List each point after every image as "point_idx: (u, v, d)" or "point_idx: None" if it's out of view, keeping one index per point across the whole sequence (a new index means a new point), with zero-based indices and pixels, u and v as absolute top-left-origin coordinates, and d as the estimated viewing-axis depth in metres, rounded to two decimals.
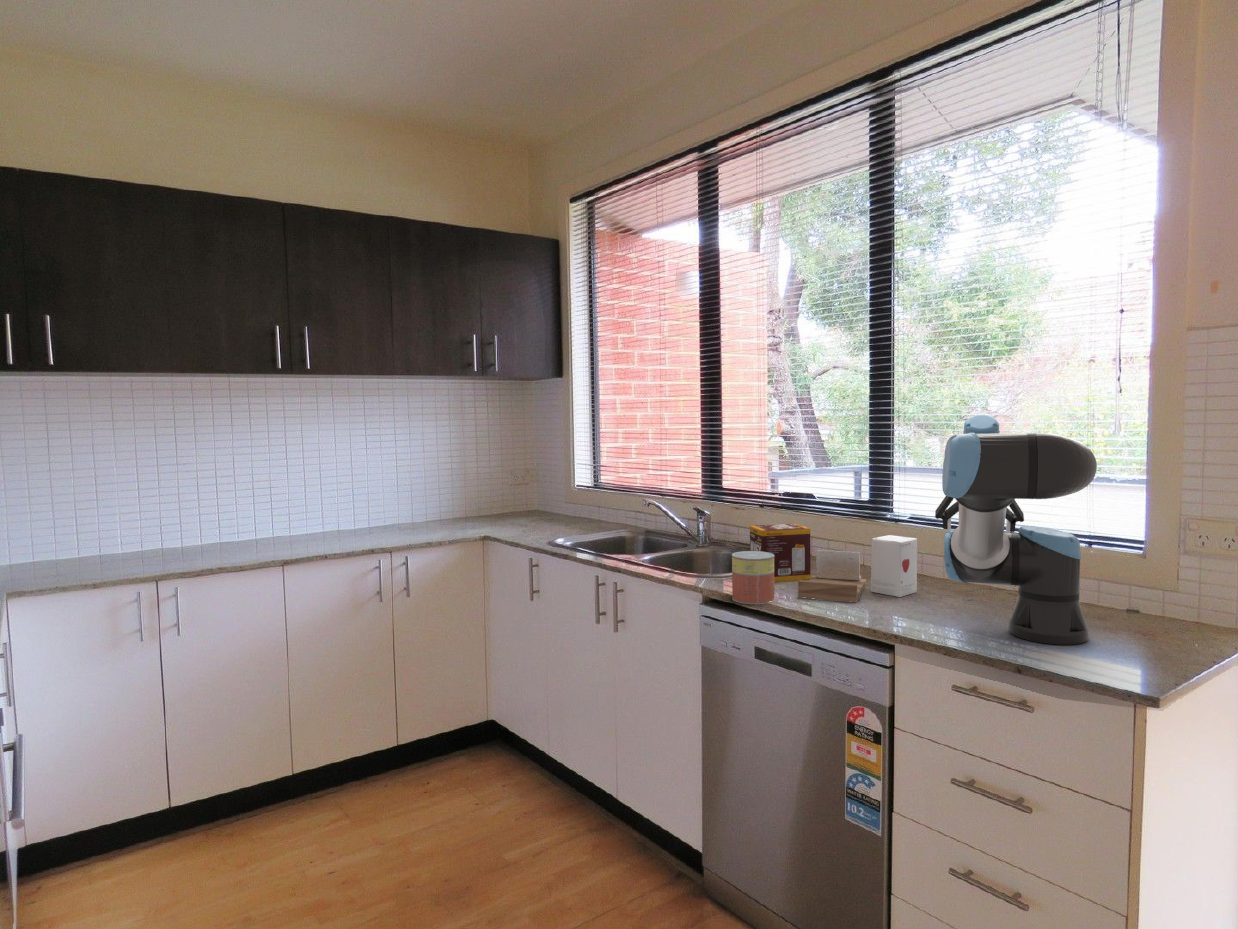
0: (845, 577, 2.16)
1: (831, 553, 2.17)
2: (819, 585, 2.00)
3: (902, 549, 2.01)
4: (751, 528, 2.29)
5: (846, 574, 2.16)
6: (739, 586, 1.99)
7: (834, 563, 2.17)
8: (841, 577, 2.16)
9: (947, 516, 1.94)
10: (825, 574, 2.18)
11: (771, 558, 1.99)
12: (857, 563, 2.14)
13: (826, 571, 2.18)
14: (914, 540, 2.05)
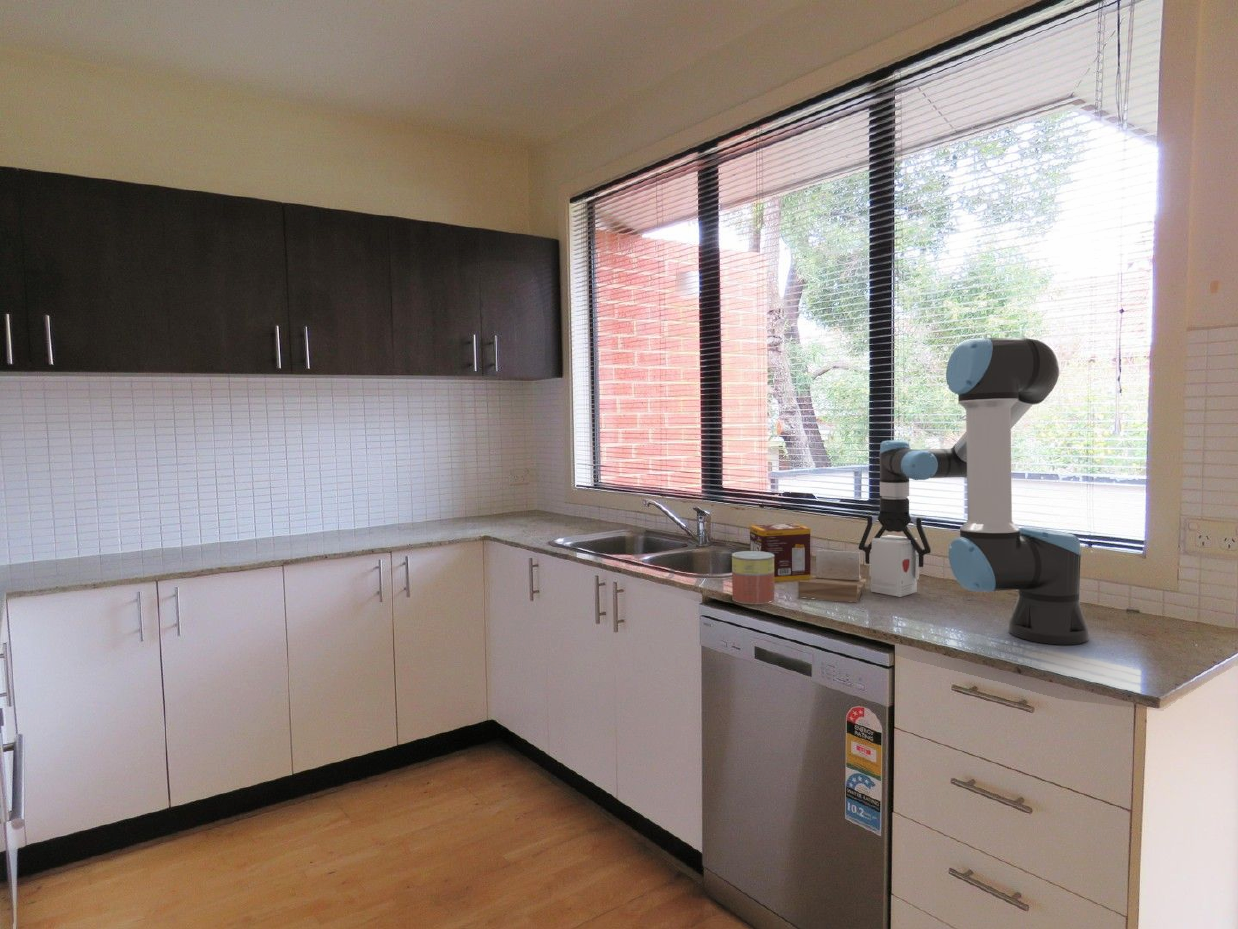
0: (845, 577, 2.16)
1: (831, 553, 2.17)
2: (819, 585, 2.00)
3: (902, 549, 2.01)
4: (751, 528, 2.29)
5: (846, 574, 2.16)
6: (739, 586, 1.99)
7: (834, 563, 2.17)
8: (841, 577, 2.16)
9: (869, 546, 2.08)
10: (825, 574, 2.18)
11: (771, 558, 1.99)
12: (857, 563, 2.14)
13: (826, 571, 2.18)
14: None
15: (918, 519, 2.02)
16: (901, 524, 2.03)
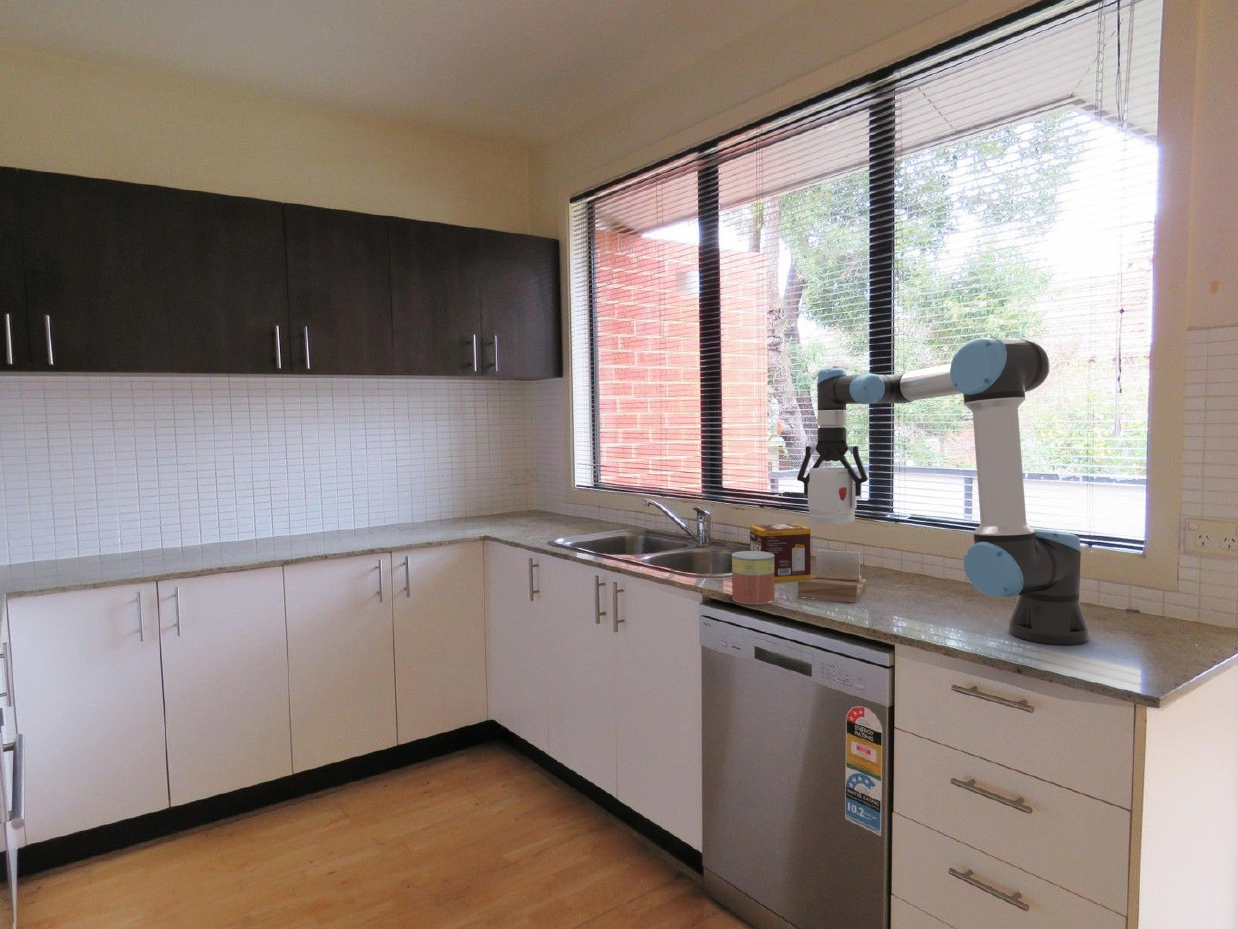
0: (845, 577, 2.16)
1: (831, 553, 2.17)
2: (819, 585, 2.00)
3: (839, 477, 2.00)
4: (751, 528, 2.29)
5: (846, 574, 2.16)
6: (739, 586, 1.99)
7: (834, 563, 2.17)
8: (841, 577, 2.16)
9: (807, 477, 2.07)
10: (825, 574, 2.18)
11: (771, 558, 1.99)
12: (857, 563, 2.14)
13: (826, 571, 2.18)
14: None
15: (855, 447, 2.01)
16: (838, 453, 2.03)
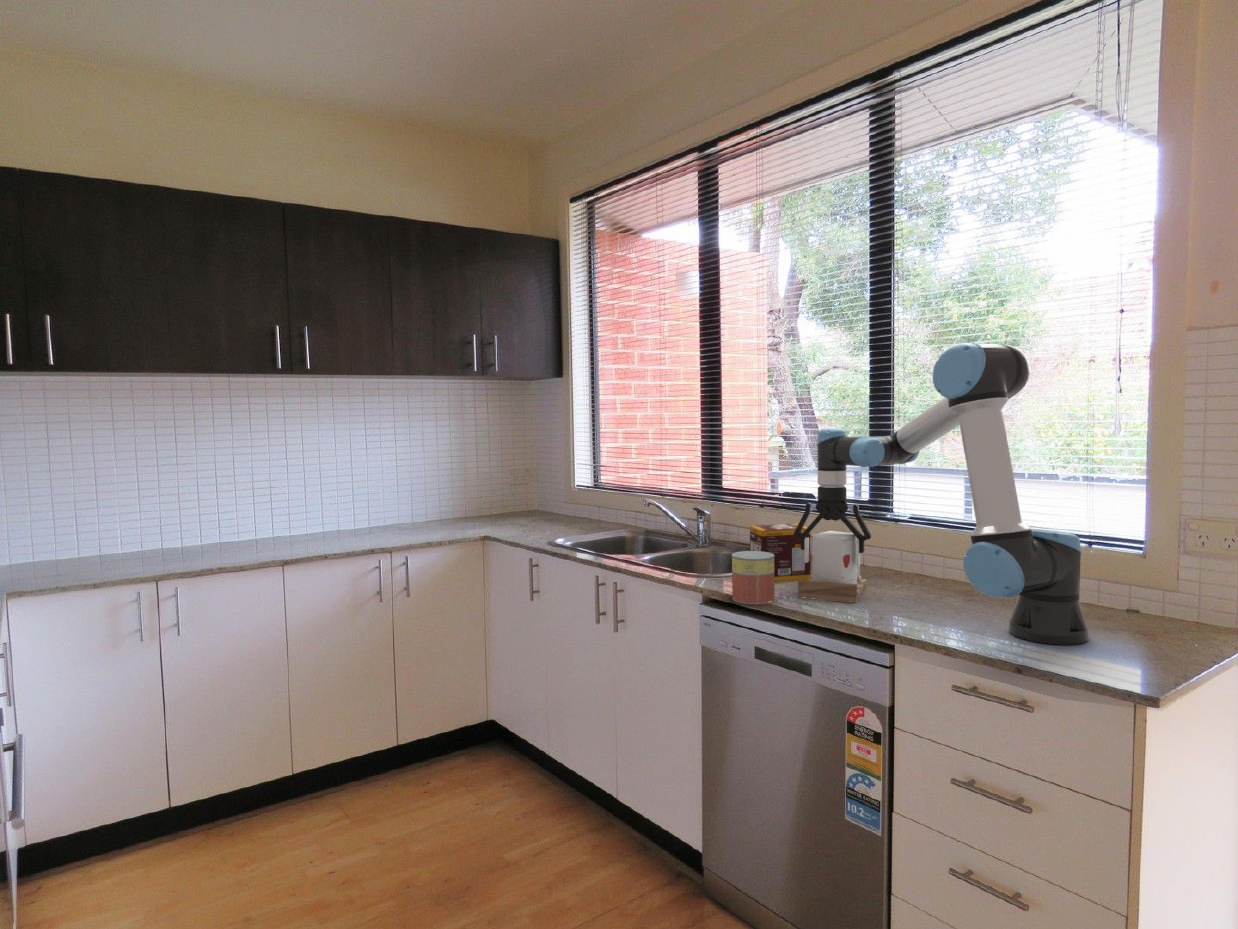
0: None
1: None
2: (819, 585, 2.00)
3: (843, 545, 2.01)
4: (751, 528, 2.29)
5: None
6: (739, 586, 1.99)
7: None
8: None
9: (804, 533, 2.08)
10: None
11: (771, 558, 1.99)
12: None
13: None
14: (854, 535, 2.05)
15: (854, 506, 2.02)
16: (838, 512, 2.04)
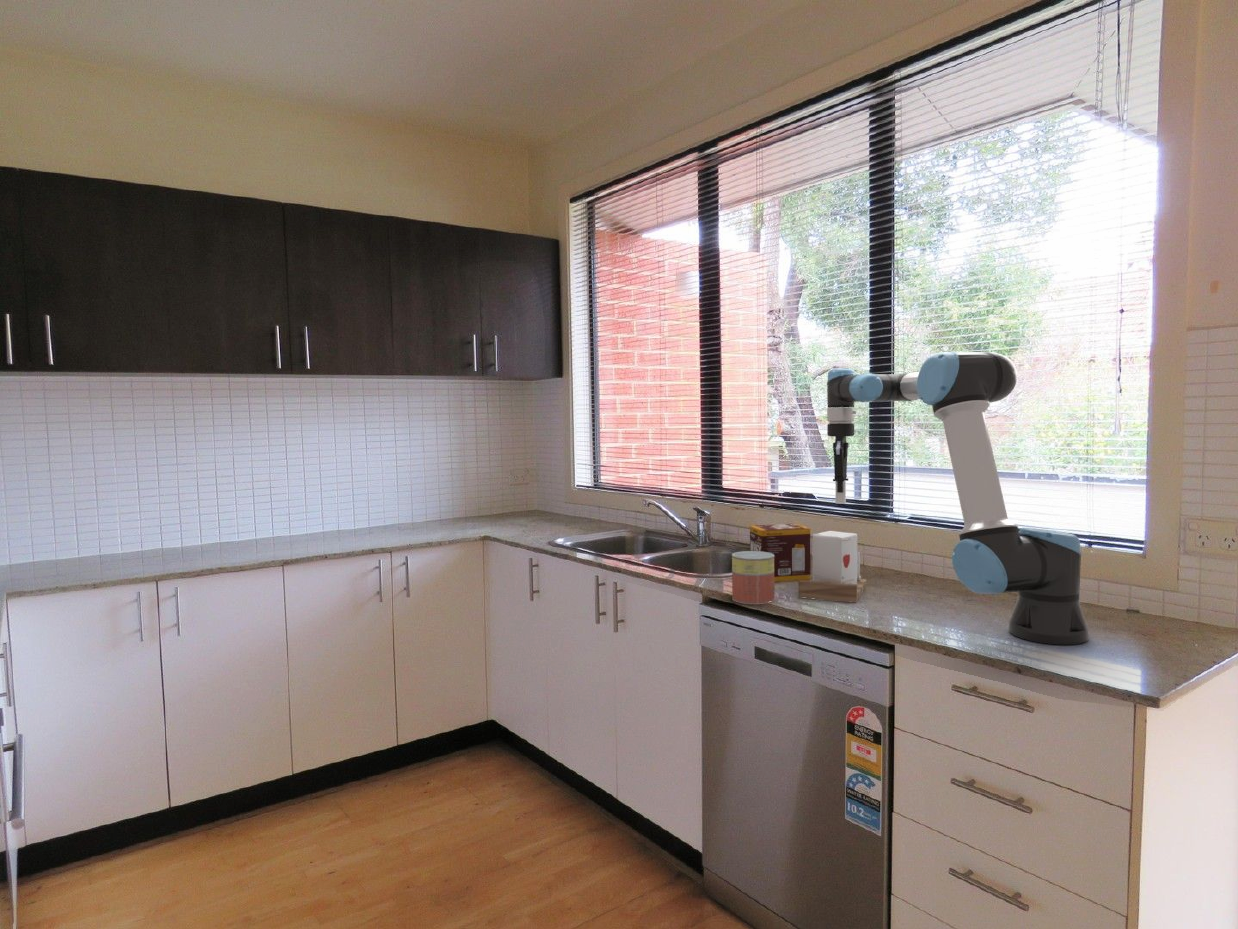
0: None
1: None
2: (819, 585, 2.00)
3: (843, 545, 2.01)
4: (751, 528, 2.29)
5: None
6: (739, 586, 1.99)
7: None
8: None
9: None
10: None
11: (771, 558, 1.99)
12: (857, 563, 2.14)
13: None
14: (854, 535, 2.05)
15: (833, 448, 2.16)
16: (833, 448, 2.20)
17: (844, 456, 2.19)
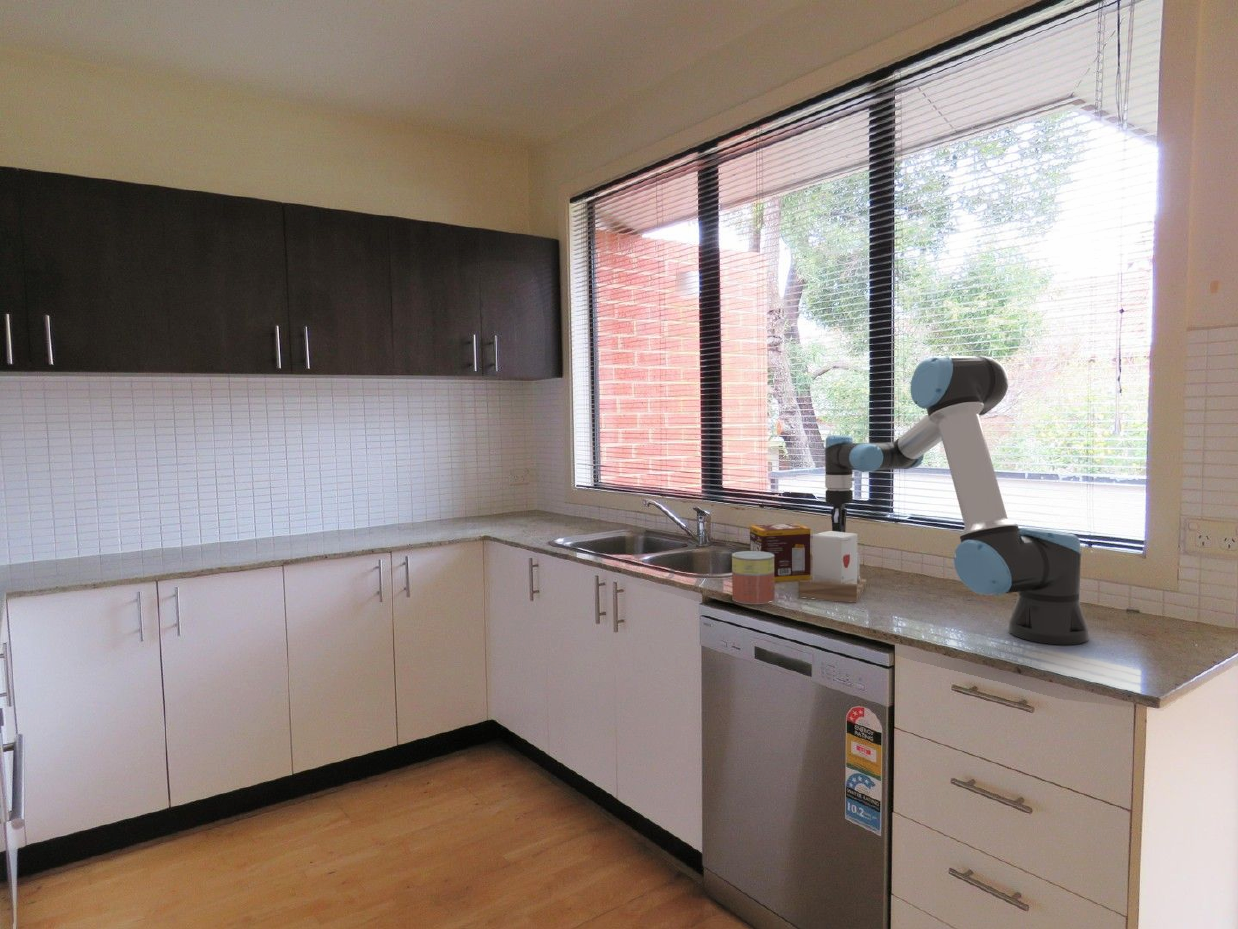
0: None
1: None
2: (819, 585, 2.00)
3: (843, 545, 2.01)
4: (751, 528, 2.29)
5: None
6: (739, 586, 1.99)
7: None
8: None
9: None
10: None
11: (771, 558, 1.99)
12: (857, 564, 2.13)
13: None
14: (854, 535, 2.05)
15: (831, 517, 2.13)
16: None
17: (842, 523, 2.16)
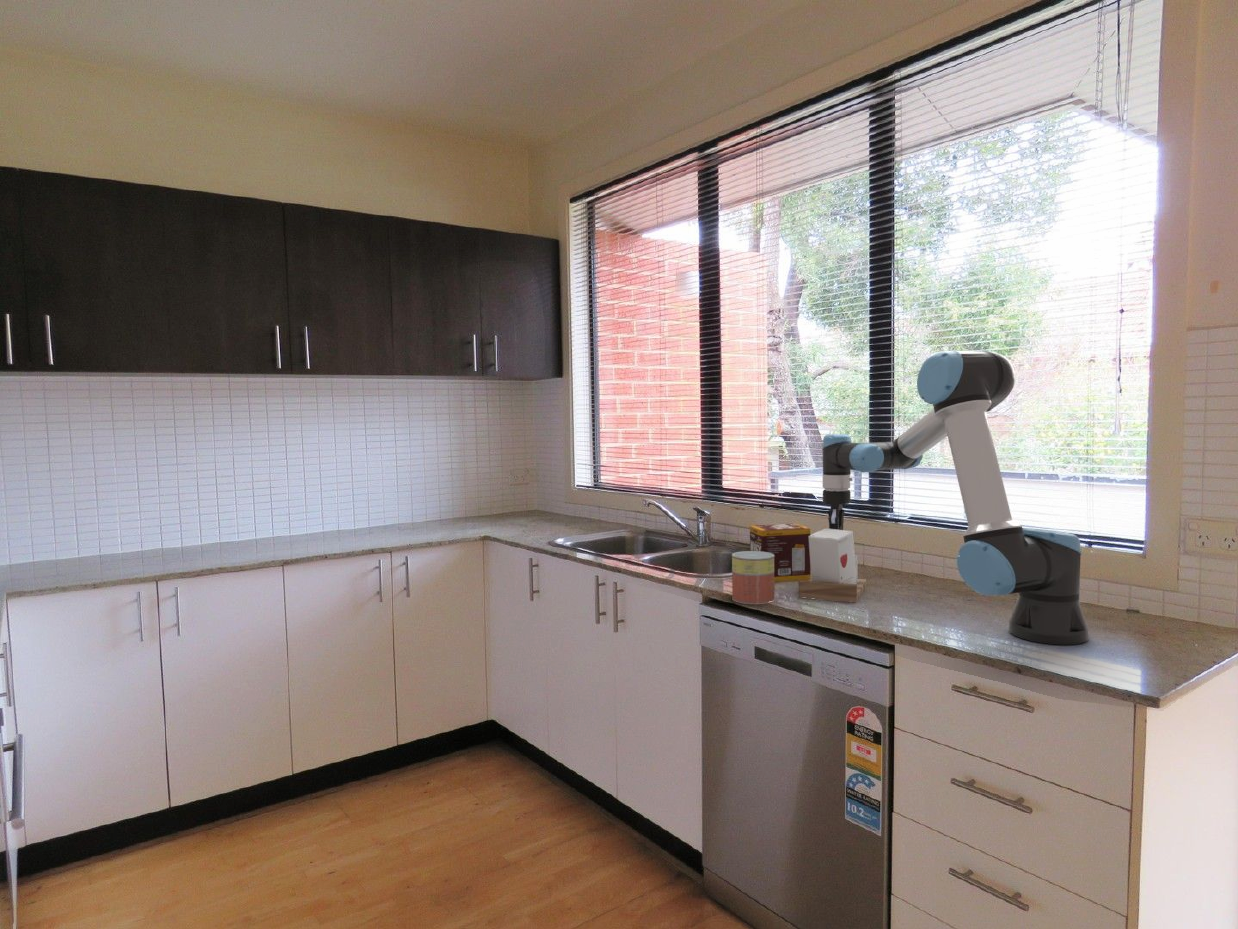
0: None
1: None
2: (819, 585, 2.00)
3: (839, 546, 1.99)
4: (751, 528, 2.29)
5: None
6: (739, 586, 1.99)
7: None
8: None
9: None
10: None
11: (771, 558, 1.99)
12: None
13: None
14: (850, 533, 2.03)
15: (828, 518, 2.09)
16: None
17: (840, 524, 2.12)
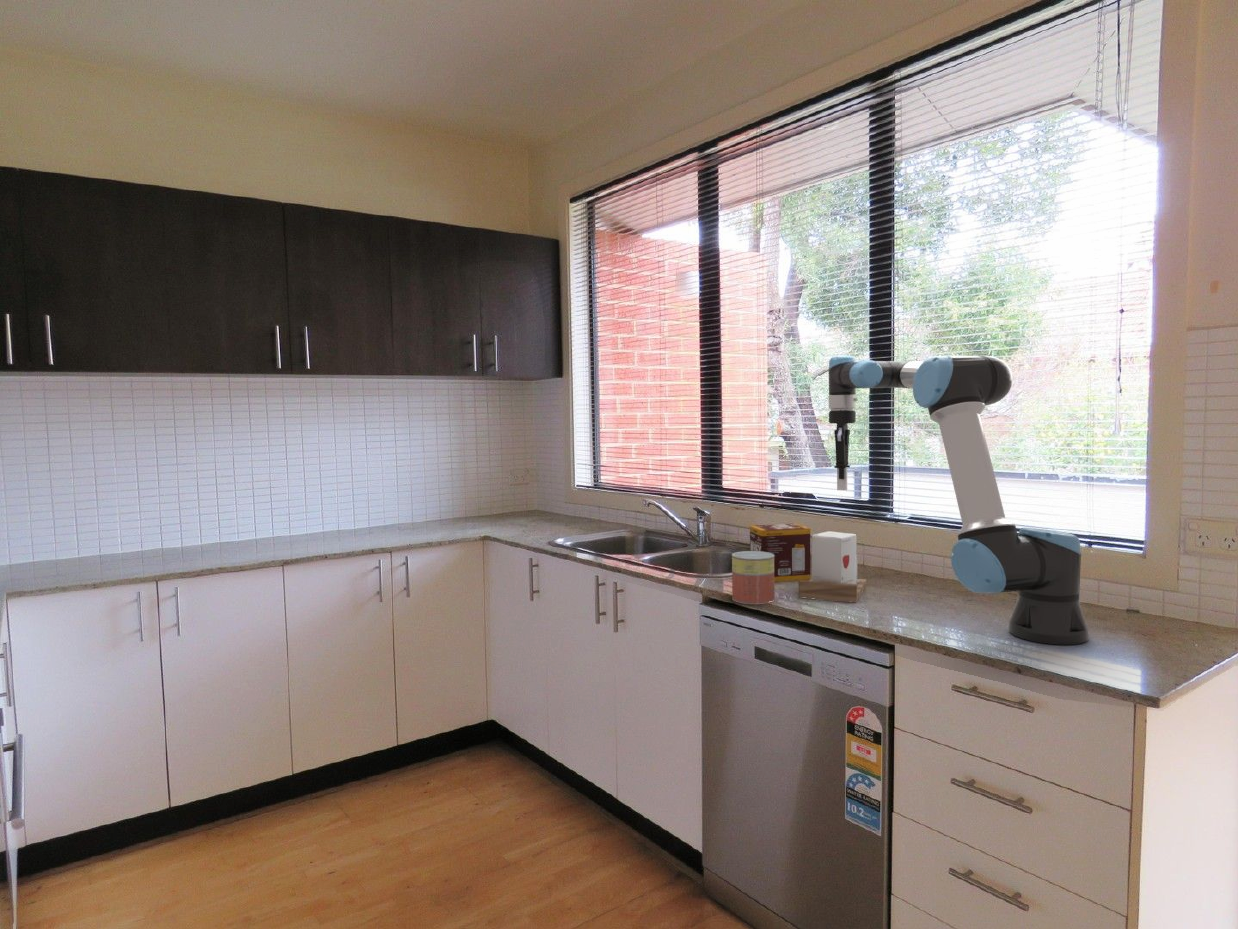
0: None
1: None
2: (819, 585, 2.00)
3: (842, 545, 2.00)
4: (751, 528, 2.29)
5: None
6: (739, 586, 1.99)
7: None
8: None
9: None
10: None
11: (771, 558, 1.99)
12: None
13: None
14: (853, 536, 2.04)
15: None
16: None
17: (845, 443, 2.20)
